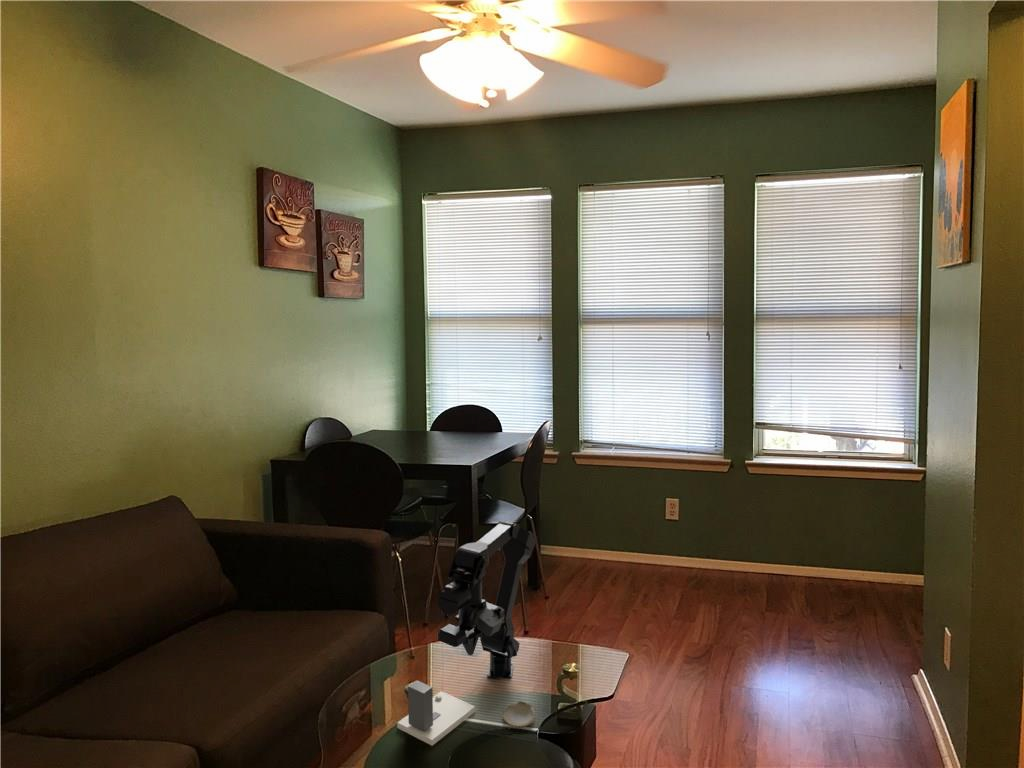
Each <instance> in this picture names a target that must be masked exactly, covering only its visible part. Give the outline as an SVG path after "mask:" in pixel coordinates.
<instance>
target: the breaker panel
mask: <svg viewBox="0 0 1024 768" xmlns="http://www.w3.org/2000/svg"><path fill="white" fill-rule="evenodd" d="M475 713H476V706H475V705H473V704H471V703H468V702H466V701H464V700H461V698H457V697H456V696H453V695H450V694H449V693H446V692H444V691H439V692H437V694H435V695H434V696H433V726H431V727H430V728H429V729H427V730H426V731H425V732H424V731H422V730H420V729H418V728H416V727H414V726H412V725H410V724H409V714H407V715H406V716H404V717H403V718H401V719H399V721H398V722H397V729H399V730H400V731H403V732H404V733H407V734H408V735H411V736H412V737H413V738H414V737H415V738H416V739H418V740H420V741H422V742H424V743H426V744H428V745H430V746H431V747H432V746H434V745H435V744H436V743H438V742H439V741H441V740H442V739H443V738H445V737H446V736H447V735H448V734H449V733H450V732H452V731H453V730H454V729H455V728H457V727H458V726H459V725H461V724H462V723H463V722H465V721H466V720H467V719H468V718H469V717H471V716H472V715H473V714H475Z"/></svg>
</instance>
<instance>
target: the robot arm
mask: <svg viewBox="0 0 1024 768" xmlns="http://www.w3.org/2000/svg"><path fill="white" fill-rule="evenodd" d="M535 547H536V537H535V536H534V534H533V532H532V531H528V530H526V529H524V528H523V527H521V526H520V525H519V524H517V523H515V522H512V521H507V520H499V521H498V522H497V524H496V526H495V527H493V528H492V529H491V530H490V531H488V532H487V533H486V534H484V535H483V536H482V537H481V538H480V539H478V540H477V541H476V542H469V543H468V542H467V543H465V544H463V545H461V546H459V547H458V549H456V551H455V553H454V554H453V558H452V559H451V564H450V566H449V569H448V572H447V574H446V575H447V576H446V578H447V579H449V580H451V583H448V584H446V585H445V586H444V590H443V591H442V592H440V593H439V594H438V597H437V602H436V603H437V605H438V608H439V609H440V611H441V612H443V613H444V614H445V615H448V616H452V615H455V614H456V613H457V612H458V614H457V615H455V617H454V620H455V622H458V624H457V625H453V624H451V623H448V624H446V626H444V627H441V628H440V629H439V630H438V631H437V641H439V642H441V643H443V644H446V645H447V646H451V647H453V648H457V647H459V646H460V645H462V646H463V649H465V651H466V653H467V655H468V656H473V655H474V652H475V651H476V647H477V644H478V642H479V640H480V644H481V649H482V651H484V652H487V653H489V665H488V670H487V674H486V677H487V678H495V679H496V678H497V679H507V680H508V679H512V677H513V672H514V665H515V664H513V663H512V659H513V658H514V657H517V656H518V652H519V649H520V642H519V641H517V640H516V638H515V627H514V624H513V620H512V616H513V611H514V607H515V601H516V598H517V593H518V589H519V585H520V579H521V574H522V570H523V565H524V564H525V563H526V562H527V561H528V559H530V558H531V556H532V553H533V550H534V549H535ZM500 549H501V552H502V554H503V557H504V564H503V569H502V573H501V578H500V583H499V588H498V592H497V596H496V601H495V604H493V603H489V602H488V601H486V599H483V577H484V576H486V574H487V572H486V568H488V566H489V559H490V558H491V557H492V556H493V555H494V554H495V553H497V551H499V550H500ZM457 570H458V571H457ZM459 571H462V572H459ZM463 572H464V573H463Z"/></svg>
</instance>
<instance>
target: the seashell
mask: <svg viewBox="0 0 1024 768" xmlns="http://www.w3.org/2000/svg"><path fill="white" fill-rule="evenodd" d="M502 718H503V721H504V723H507V724H508V725H510V726H512V727H515V728H517V727H518V728H522V727H528V726H529V725H531V723H534V721H535V718H536V716H535V706H534V705H533V704H531V703H527V702H524V701H522V700H519V701H518V702H517V703H514V704H511V705H508V706H506V707H505V708H504V709H503V710H502Z"/></svg>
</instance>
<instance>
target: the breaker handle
mask: <svg viewBox="0 0 1024 768" xmlns="http://www.w3.org/2000/svg"><path fill="white" fill-rule="evenodd" d="M433 691H434V690H433V687H432V686H430V685H428V684H426V683H424V682H422V681H419V680H418V679H416V680H414V681H413V682H412V683H410V684H409V685H408V686H407V698H408V699H407V700H408V701H407V703H408V704H407V705H408V706H407V707H408V709H407V710H408V713H407V714H408V715H409V724H410V725H412V726H414V727H416V728H418V729H420V730H422V731H424V732H425V731H426V730H427V729H429V728H430V727H431V726H433V697H434V696H433Z"/></svg>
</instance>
